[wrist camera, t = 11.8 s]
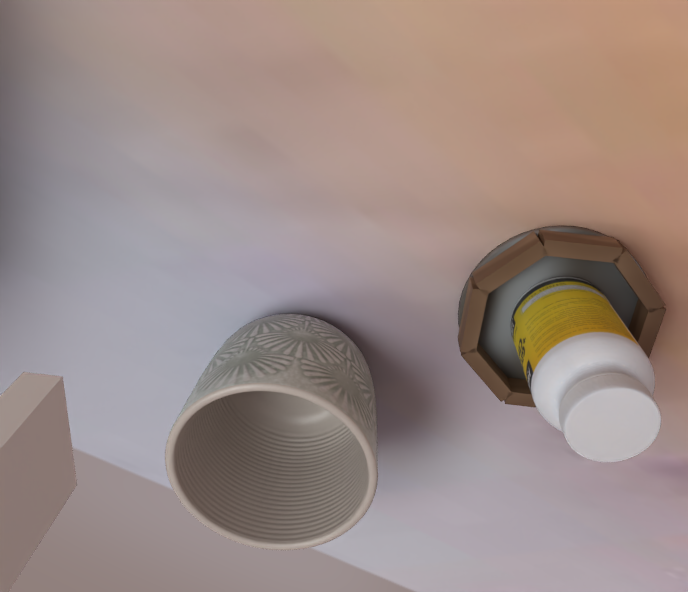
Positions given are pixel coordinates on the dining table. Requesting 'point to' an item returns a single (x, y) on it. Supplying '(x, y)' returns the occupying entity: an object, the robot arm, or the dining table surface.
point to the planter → (278, 436)
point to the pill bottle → (585, 369)
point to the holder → (532, 268)
